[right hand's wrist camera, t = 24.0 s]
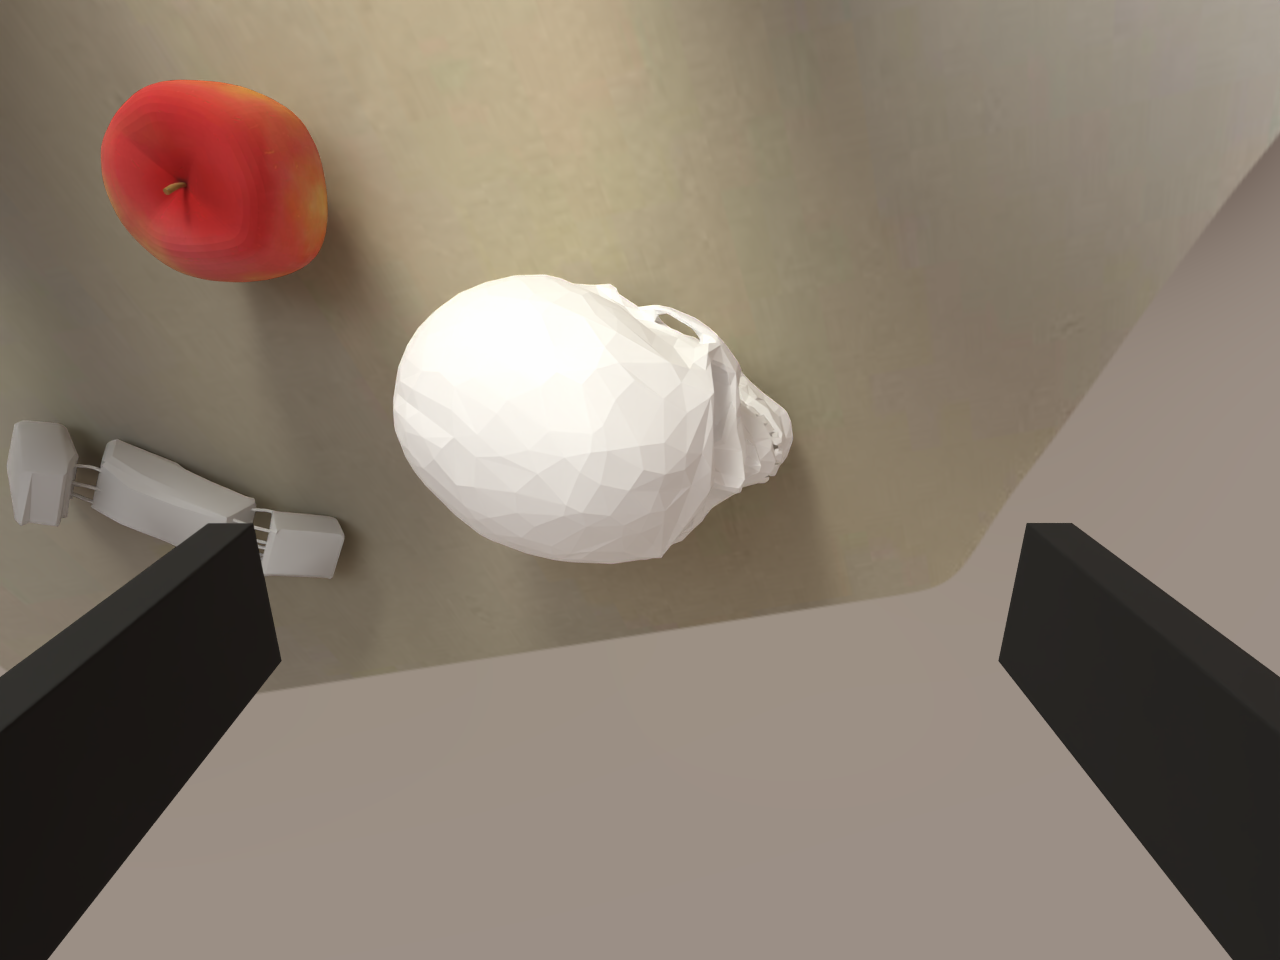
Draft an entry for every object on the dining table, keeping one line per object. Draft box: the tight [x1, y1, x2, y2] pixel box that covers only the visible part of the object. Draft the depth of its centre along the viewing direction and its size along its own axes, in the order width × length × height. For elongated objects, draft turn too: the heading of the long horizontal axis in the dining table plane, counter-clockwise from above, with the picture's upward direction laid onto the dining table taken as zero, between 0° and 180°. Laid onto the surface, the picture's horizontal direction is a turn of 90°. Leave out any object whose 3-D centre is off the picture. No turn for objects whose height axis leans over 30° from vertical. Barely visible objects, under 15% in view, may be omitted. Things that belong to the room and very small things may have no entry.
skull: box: [393, 274, 793, 564], centre depth 38 cm, size 13×22×16 cm, turn 79°
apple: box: [101, 80, 327, 282], centre depth 36 cm, size 10×10×10 cm
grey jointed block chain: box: [7, 420, 345, 579], centre depth 45 cm, size 20×4×7 cm, turn 67°
